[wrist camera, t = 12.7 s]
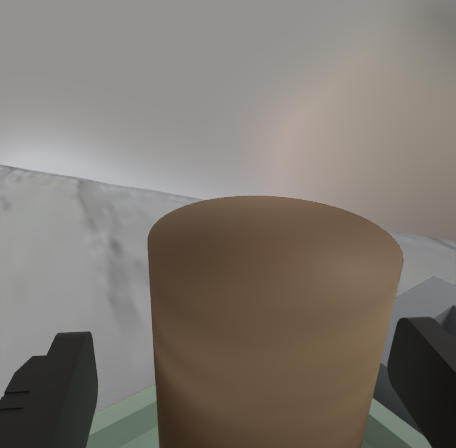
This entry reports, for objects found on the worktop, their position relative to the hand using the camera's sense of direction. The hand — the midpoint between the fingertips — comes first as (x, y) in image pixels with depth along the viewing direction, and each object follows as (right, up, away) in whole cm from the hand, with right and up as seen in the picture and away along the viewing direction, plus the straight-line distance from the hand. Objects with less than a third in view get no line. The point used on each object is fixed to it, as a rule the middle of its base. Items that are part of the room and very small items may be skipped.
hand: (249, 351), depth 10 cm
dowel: (0, -10, +3) cm, 10 cm away
